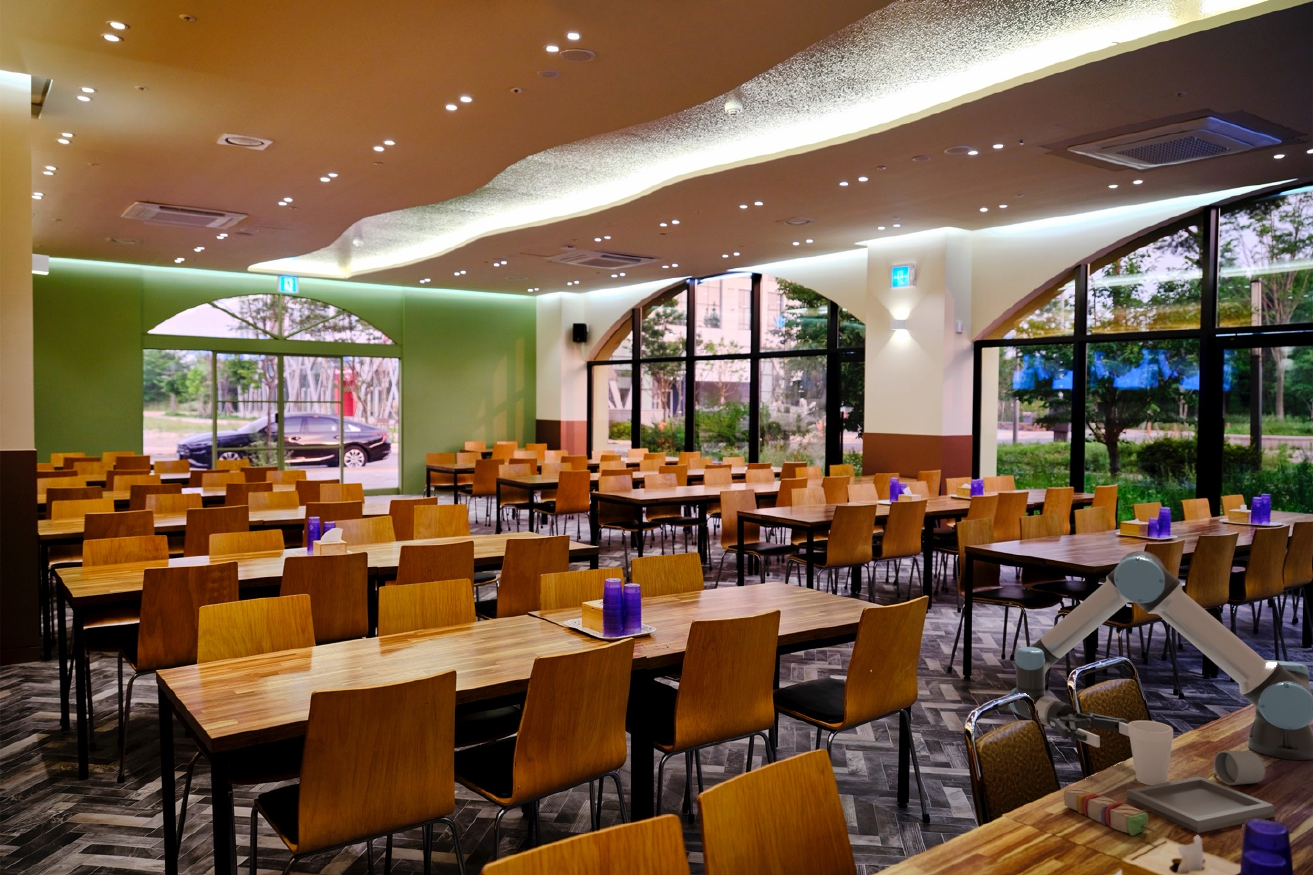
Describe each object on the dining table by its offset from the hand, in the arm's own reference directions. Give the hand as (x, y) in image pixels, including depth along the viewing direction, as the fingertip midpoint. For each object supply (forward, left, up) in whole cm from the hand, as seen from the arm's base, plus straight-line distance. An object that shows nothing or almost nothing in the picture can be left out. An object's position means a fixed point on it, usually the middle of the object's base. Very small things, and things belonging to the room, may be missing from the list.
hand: (1120, 738), depth 225 cm
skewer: (+27, +24, -8) cm, 37 cm away
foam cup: (0, +9, -8) cm, 12 cm away
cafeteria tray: (+4, +25, -7) cm, 26 cm away
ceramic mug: (-18, +16, -8) cm, 26 cm away
